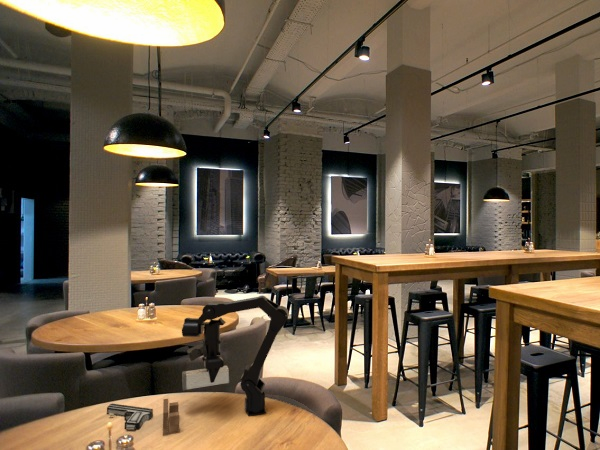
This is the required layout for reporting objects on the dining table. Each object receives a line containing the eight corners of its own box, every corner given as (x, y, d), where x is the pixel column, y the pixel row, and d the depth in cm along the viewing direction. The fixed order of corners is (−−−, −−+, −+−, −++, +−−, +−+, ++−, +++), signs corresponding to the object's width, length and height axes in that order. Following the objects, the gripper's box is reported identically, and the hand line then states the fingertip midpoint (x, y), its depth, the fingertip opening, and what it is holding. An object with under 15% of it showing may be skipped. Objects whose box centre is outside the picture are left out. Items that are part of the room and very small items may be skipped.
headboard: (178, 417, 130) (178, 397, 130) (179, 432, 119) (179, 410, 120) (163, 419, 128) (163, 399, 128) (162, 435, 118) (163, 413, 118)
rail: (227, 378, 139) (226, 365, 139) (228, 382, 135) (228, 368, 136) (182, 385, 134) (182, 371, 134) (182, 390, 130) (182, 375, 130)
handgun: (134, 425, 119) (157, 408, 131) (86, 417, 124) (112, 402, 136) (134, 434, 119) (157, 417, 131) (85, 427, 124) (112, 410, 136)
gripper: (187, 333, 142) (187, 374, 141) (190, 346, 125) (189, 393, 124) (217, 330, 146) (216, 370, 145) (224, 342, 128) (223, 388, 128)
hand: (211, 380), depth 135 cm, fingers closed on rail, 4 cm apart
